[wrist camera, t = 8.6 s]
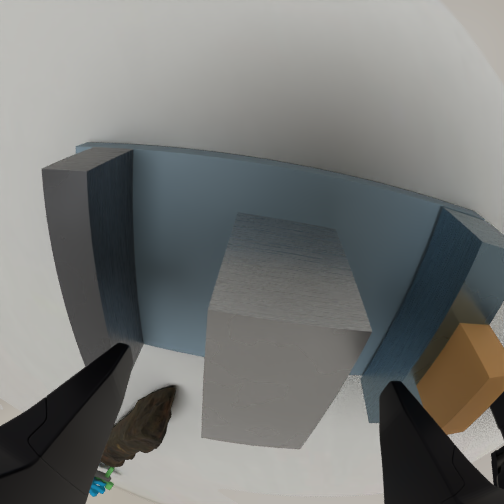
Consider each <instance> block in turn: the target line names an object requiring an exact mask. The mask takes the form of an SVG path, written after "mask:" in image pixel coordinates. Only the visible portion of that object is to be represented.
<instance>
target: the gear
mask: <svg viewBox="0 0 504 504" xmlns="http://www.w3.org/2000/svg"><path fill="white" fill-rule="evenodd" d="M113 470H114V467H110V468H109V469H108V471H107V472H106V473H103V472H101V471H98V470H97V471H96V474H95V477H94V479H93V482H92V485H91V488H90V491H89V493H90V494H91V495H92V496H93V497H94V496H97V494H98V493H99V492H100V493H101V494H103V493H104V492H105V488H106V489H108V490H110V489H111V488H112V487H113V485H114V484H113V483H112V482H110V480H111V477H110V475H111V473H112V472H113ZM96 484H98V485H101V486H97V485H96ZM105 485H106V486H105ZM104 486H105V488H104ZM93 488H94V489H93Z"/></svg>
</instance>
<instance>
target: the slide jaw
mask: <svg viewBox="0 0 504 504" xmlns="http://www.w3.org/2000/svg"><path fill="white" fill-rule="evenodd" d="M503 301H504V235H503V234H502V233H501V232H499V231H498V230H497V229H496V228H495V227H493V226H492V225H491V224H490V223H489V222H486V221H484V220H481V219H478V218H475V217H472V216H469V215H466V214H463V213H460V212H457V211H453V210H450V209H447V208H444V207H443V209H442V212H441V215H440V218H439V221H438V223H437V226H436V229H435V231H434V234H433V237H432V239H431V242H430V244H429V247H428V249H427V252H426V254H425V257H424V259H423V261H422V264H421V266H420V268H419V270H418V273H417V275H416V277H415V279H414V282H413V284H412V286H411V288H410V290H409V292H408V294H407V296H406V299H405V301H404V303H403V305H402V307H401V309H400V311H399V313H398V314H397V316H396V318H395V320H394V322H393V324H392V326H391V328H390V330H389V332H388V333H387V335H386V337H385V339H384V341H383V342H382V344H381V346H380V348H379V349H378V351H377V353H376V355H375V356H374V358H373V360H372V361H371V363H370V365H369V366H368V368H367V370H366V371H365V373H364V374H363V376H362V378H361V384H362V389H363V394H364V399H365V404H366V409H367V415H368V420H369V423H379V397H380V394H381V392H382V391H383V390H384V388H385V387H386V385H387V384H388V383H389V382H390V381H401V382H402V383H403V384H404V385H405V386H406V387H407V389H408V390H409V391H410V392H411V393H412V394H413V396H414V397H415V398H416V399H417V400H418V401H419V403H420V404H421V405H422V406H423V407H424V408H425V410H426V411H427V412H428V413H429V414H430V416H431V417H432V418H433V419H434V420H435V421H436V423H437V424H438V425H439V426H440V427H441V429H442V430H443V431H444V432H445V433H446V435H448V434H454V433H459V432H463V431H465V430H466V429H467V428H468V427H469V426H470V425H471V424H472V423H473V422H474V421H475V420H476V419H477V418H479V417H480V416H481V415H482V414H483V413H484V412H485V411H486V410H487V409H488V408H489V407H490V405H491V404H492V403H493V402H494V401H495V400H496V399H497V398H498V397H499V396H500V395H501V394H502V393H503V392H504V348H503V346H502V344H501V343H500V341H499V339H498V338H497V336H496V335H495V333H494V332H493V330H492V328H491V327H490V325H489V324H490V323H491V321H492V320H493V318H494V316H495V315H496V313H497V311H498V310H499V308H500V306H501V305H502V303H503Z"/></svg>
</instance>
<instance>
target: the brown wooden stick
mask: <svg viewBox="0 0 504 504" xmlns="http://www.w3.org/2000/svg"><path fill="white" fill-rule="evenodd" d="M175 392H176V389H175V388H174V387H170V388H168V387H166V388H164V389H161V390H159V391H155V392H153V393H151V394H149V395H148V396H147V397H145V398H143V399H140V400H139V401H138V402H137V403H136V406H135V408H134V409H133V410H132V412H131V413H130V414H129V415H128V416H126V417H125V418H124V419H123V420H121V421H119V422H118V424H117V425H116V426H115V427H114V428H112V431H111V433H110V436H109V439H108V441H107V444H106V446H105V449H104V452H103V454H102V457H101V460H100V461H101V462H102V463H104V464H105V465H107V466H110V467H120V466H122V465H123V464H124V462H125V460H129V459H131V460H132V459H133V458H134V457H135V454H136V453H137V452H139V451H141V452H143V453H148V452H150V451H152V450H153V449H157V447H158V446H160V444H161V443H162V440H163V438H164V436H165V434H166V431H167V425H168V422H169V420H170V418H171V406H172V402H173V399H174V395H175ZM169 398H170V399H169Z"/></svg>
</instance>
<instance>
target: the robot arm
mask: <svg viewBox="0 0 504 504" xmlns="http://www.w3.org/2000/svg"><path fill="white" fill-rule="evenodd" d="M132 367H133V357H132V352H131V347H130V346H129V345H128V344H124V343H117V344H115V345H114V346H113V347H111V348H110V349H109V350H107V351H106V352H105V353H103V354H102V355H101V356H99V357H98V358H97V359H95V360H94V361H93V362H91V363H90V364H89V365H87V366H86V367H85V368H83V369H82V370H81V371H79V372H78V373H77V374H75V375H74V376H73V377H71V378H70V379H69V380H67V381H66V382H65V383H63V384H62V385H61V386H59V387H58V388H57V389H55V390H54V391H53V392H51V393H50V394H49V395H47V397H45V398H43V399H42V400H41V401H39V402H38V403H37V404H35V405H34V406H32V407H31V408H30V409H28V410H27V411H25V412H23V413H22V414H21V415H19V416H17V417H15V418H14V419H12V420H10V421H9V422H7V423H5V424H3V425H1V426H0V504H85V503H86V500H87V497H88V494H89V491H90V488H91V485H92V482H93V479H94V477H95V474H96V471H97V468H98V465H99V463H100V460H101V457H102V454H103V452H104V449H105V446H106V444H107V441H108V439H109V436H110V433H111V431H112V428H113V426H114V423H115V421H116V418H117V416H118V413H119V411H120V408H121V405H122V403H123V399H124V396H125V392H126V388H127V385H128V381H129V378H130V374H131V371H132ZM490 409H491V411H492V414H493V416H494V419H495V421H496V424H497V427H498V429H500V431H501V433H502V436H503V439H504V392H503V393H502V394H501V395H500V396H499V397H498V398H497V399H496V400H495V401H494V402H493V403H492V404H491V405H490ZM379 432H380V445H381V456H382V468H383V484H384V503H385V504H504V446H503V447H501V448H500V449H499V450H496V451H494V452H493V453H491V457H492V472H493V482H494V485H493V484H491V483H490V482H489V481H488V480H487V479H486V478H485V477H484V476H483V475H482V474H481V473H480V472H479V471H478V470H477V469H476V468H475V467H474V466H473V465H472V464H471V463H470V462H469V461H468V459H467V458H466V457H465V456H464V455H463V454H462V453H461V451H460V450H459V449H458V448H457V447H456V445H454V443H453V442H452V441H451V439H450V438H449V437H448V436H447V435H446V433H445V432H444V431H443V430H442V429H441V427H440V426H439V425H438V424H437V423H436V421H435V420H434V419H433V418H432V417H431V416H430V414H429V413H428V412H427V411H426V410H425V408H424V407H423V406H422V405H421V404H420V403H419V401H418V400H417V399H416V398H415V397H414V396H413V394H412V393H411V392H410V391H409V390H408V389H407V387H406V386H405V385H404V384H403V383H402V382H401V381H390V382H389V383H388V384H387V385H386V387H385V388H384V390H383V391H382V392H381V394H380V397H379Z"/></svg>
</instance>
